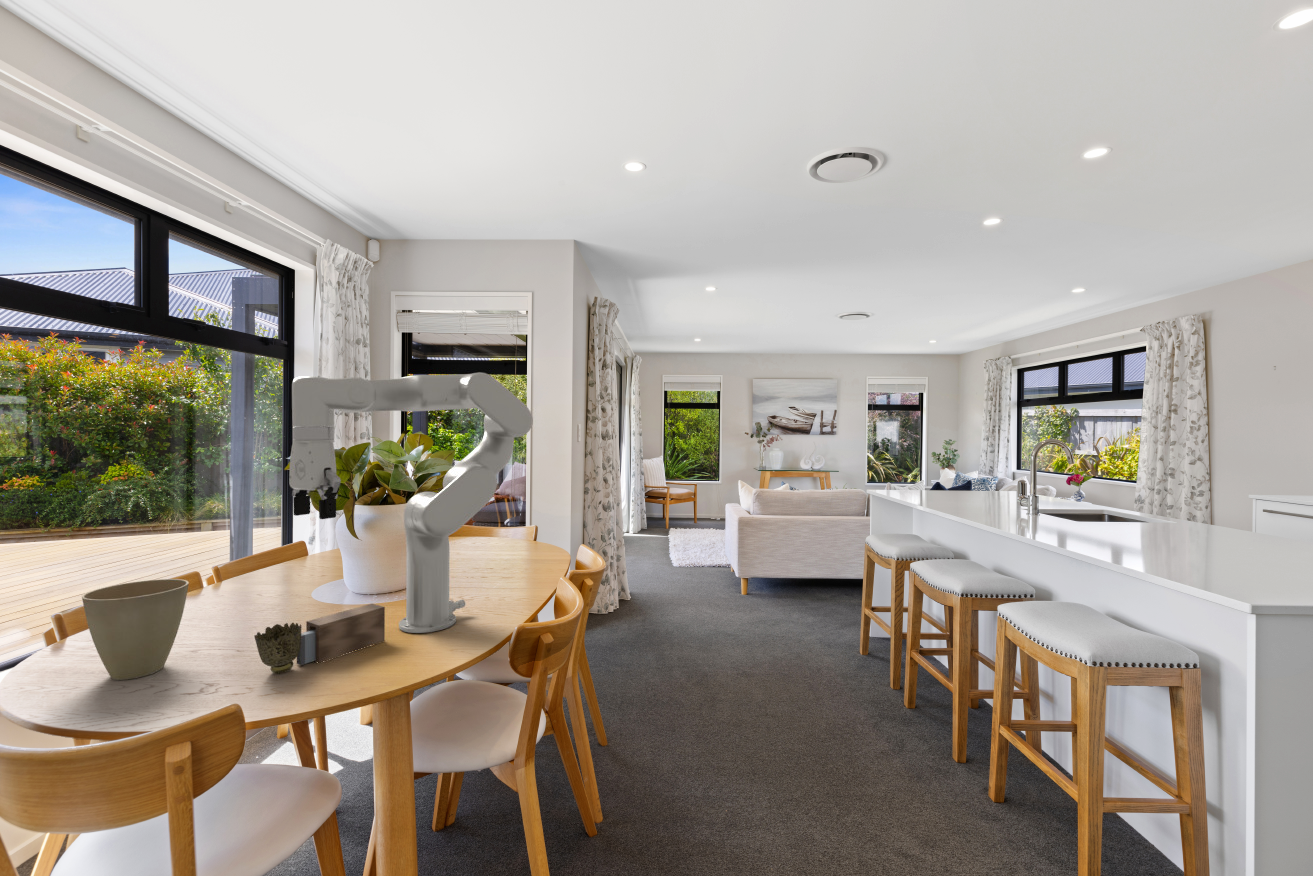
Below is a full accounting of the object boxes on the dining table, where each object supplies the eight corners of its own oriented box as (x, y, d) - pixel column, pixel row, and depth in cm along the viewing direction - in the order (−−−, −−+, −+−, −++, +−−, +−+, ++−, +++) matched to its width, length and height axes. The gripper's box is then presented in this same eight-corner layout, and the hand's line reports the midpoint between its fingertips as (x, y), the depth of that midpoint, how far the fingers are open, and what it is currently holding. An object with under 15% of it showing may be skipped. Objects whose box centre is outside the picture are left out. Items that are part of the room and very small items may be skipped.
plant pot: (208, 660, 113) (208, 580, 113) (122, 693, 98) (122, 602, 98) (150, 653, 116) (150, 576, 116) (60, 684, 102) (59, 596, 101)
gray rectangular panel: (364, 641, 123) (364, 615, 123) (369, 642, 122) (369, 616, 122) (296, 663, 111) (296, 634, 110) (300, 665, 110) (300, 636, 110)
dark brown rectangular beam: (372, 637, 126) (372, 603, 126) (384, 641, 123) (384, 606, 123) (306, 658, 114) (306, 621, 114) (318, 663, 111) (318, 625, 111)
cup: (281, 681, 103) (277, 639, 103) (248, 678, 105) (244, 637, 104) (314, 662, 111) (310, 622, 110) (282, 659, 112) (278, 621, 111)
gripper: (272, 435, 120) (274, 515, 120) (318, 436, 111) (319, 522, 111) (309, 435, 126) (310, 511, 127) (355, 435, 118) (356, 517, 118)
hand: (314, 516), depth 119 cm, fingers open, 9 cm apart
